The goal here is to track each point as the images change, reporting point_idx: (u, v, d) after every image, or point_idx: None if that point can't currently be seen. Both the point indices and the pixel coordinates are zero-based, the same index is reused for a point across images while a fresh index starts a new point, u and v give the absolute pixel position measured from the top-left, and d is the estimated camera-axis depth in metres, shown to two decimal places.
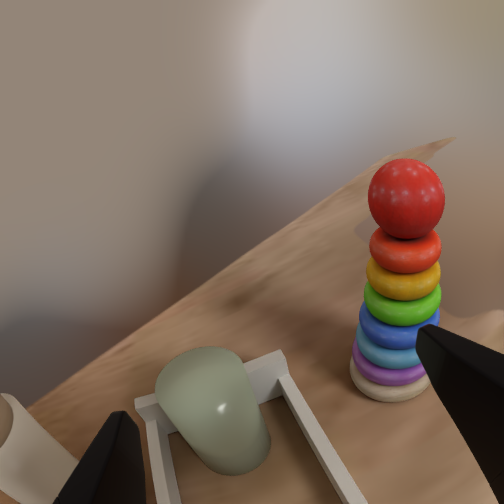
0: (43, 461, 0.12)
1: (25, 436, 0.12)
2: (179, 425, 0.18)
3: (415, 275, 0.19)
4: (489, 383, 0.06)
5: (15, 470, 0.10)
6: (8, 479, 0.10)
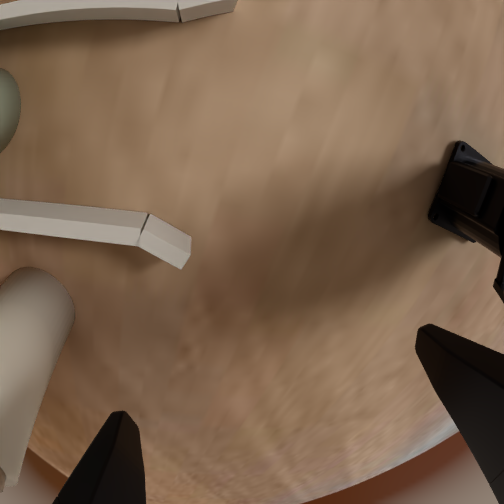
0: None
1: None
2: None
3: None
4: (489, 383, 0.06)
5: None
6: (9, 434, 0.09)
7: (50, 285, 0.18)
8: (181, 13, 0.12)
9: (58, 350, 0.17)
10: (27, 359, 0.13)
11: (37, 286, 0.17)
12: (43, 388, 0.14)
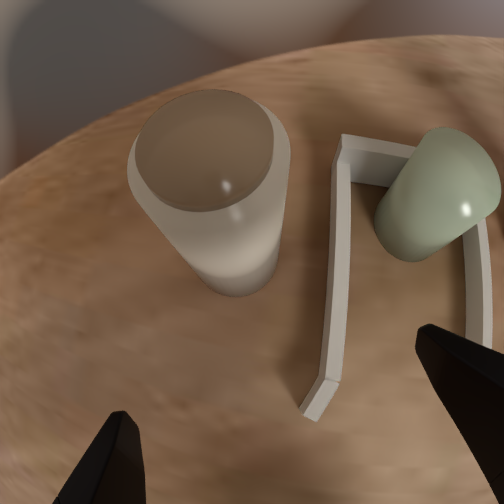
0: (281, 211, 0.13)
1: (287, 176, 0.11)
2: (427, 205, 0.16)
3: None
4: (489, 383, 0.06)
5: (252, 229, 0.12)
6: (227, 242, 0.12)
7: (267, 279, 0.22)
8: None
9: (218, 284, 0.19)
10: (251, 266, 0.16)
11: (273, 269, 0.21)
12: (208, 271, 0.16)
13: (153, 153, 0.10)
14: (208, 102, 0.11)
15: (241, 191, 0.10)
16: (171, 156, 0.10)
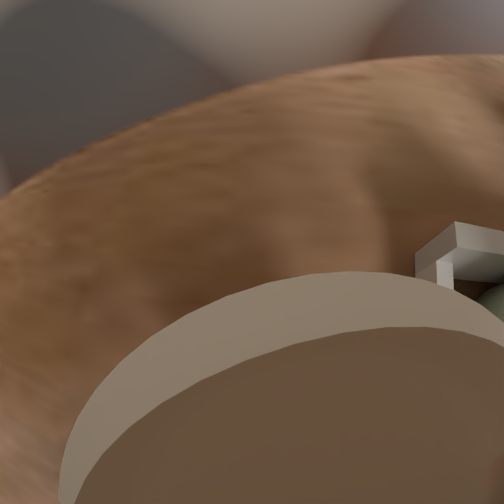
0: None
1: None
2: None
3: None
4: None
5: None
6: None
7: None
8: None
9: None
10: None
11: None
12: None
13: None
14: (400, 428, 0.02)
15: None
16: None
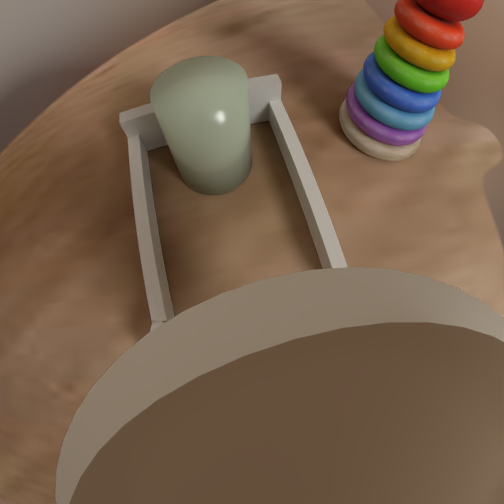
0: None
1: None
2: (172, 131, 0.18)
3: (433, 49, 0.15)
4: None
5: None
6: None
7: None
8: None
9: None
10: None
11: None
12: None
13: None
14: (401, 426, 0.02)
15: None
16: None
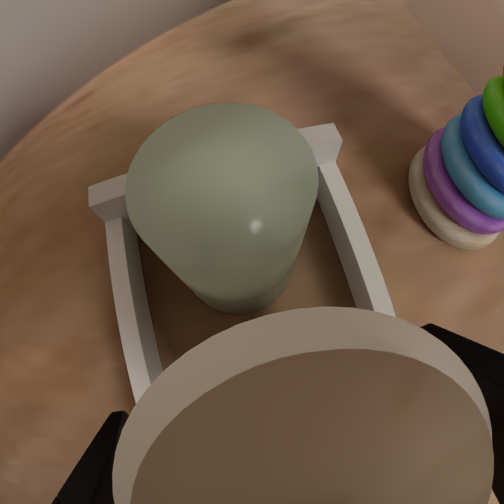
0: None
1: None
2: (173, 268, 0.10)
3: None
4: (490, 383, 0.06)
5: None
6: None
7: None
8: None
9: None
10: None
11: None
12: None
13: None
14: (347, 411, 0.03)
15: None
16: None
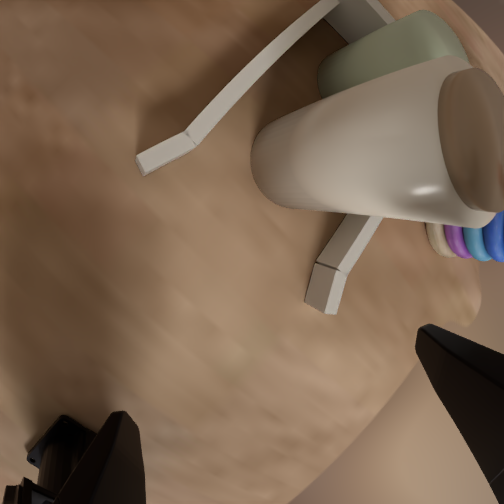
0: None
1: None
2: (395, 49, 0.13)
3: None
4: (489, 383, 0.06)
5: (429, 217, 0.10)
6: (409, 201, 0.10)
7: (296, 208, 0.20)
8: (329, 269, 0.20)
9: (283, 173, 0.16)
10: (343, 207, 0.14)
11: None
12: (317, 168, 0.13)
13: (473, 96, 0.07)
14: None
15: (479, 205, 0.08)
16: (478, 118, 0.07)
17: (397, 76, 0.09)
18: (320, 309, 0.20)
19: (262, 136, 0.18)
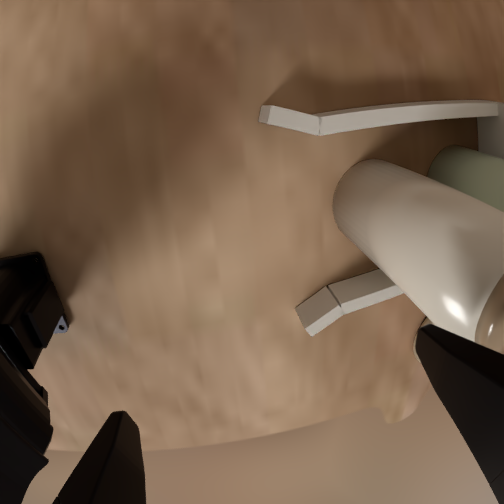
0: None
1: None
2: None
3: None
4: (489, 383, 0.06)
5: (444, 327, 0.11)
6: (442, 306, 0.11)
7: (347, 237, 0.21)
8: (334, 299, 0.22)
9: (363, 207, 0.17)
10: (389, 269, 0.15)
11: None
12: (395, 228, 0.14)
13: None
14: None
15: None
16: None
17: (502, 219, 0.10)
18: (304, 323, 0.22)
19: (367, 166, 0.19)
